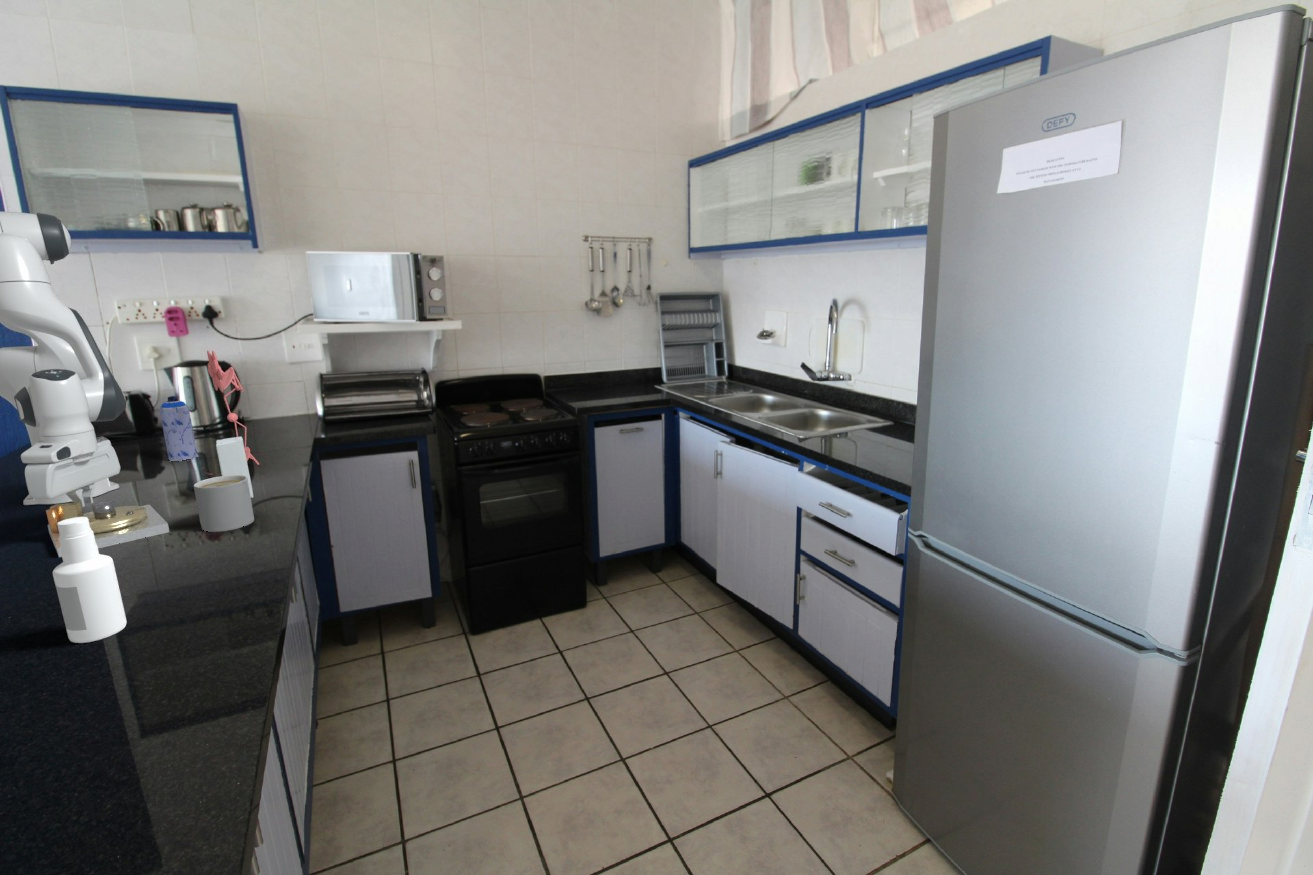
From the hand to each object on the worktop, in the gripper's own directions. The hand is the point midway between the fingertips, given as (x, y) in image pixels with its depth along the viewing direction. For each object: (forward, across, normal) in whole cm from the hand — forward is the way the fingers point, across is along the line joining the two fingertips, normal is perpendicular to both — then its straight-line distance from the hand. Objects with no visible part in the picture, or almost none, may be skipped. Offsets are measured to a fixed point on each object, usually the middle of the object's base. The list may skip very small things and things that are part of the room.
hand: (84, 506), depth 144 cm
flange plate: (+3, +4, +6) cm, 7 cm away
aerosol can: (+6, -65, -22) cm, 69 cm away
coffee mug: (+6, -1, +29) cm, 30 cm away
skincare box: (+6, -21, +21) cm, 30 cm away
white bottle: (+5, +48, +39) cm, 62 cm away
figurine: (+6, -53, 0) cm, 53 cm away
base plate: (+5, +3, +7) cm, 9 cm away
